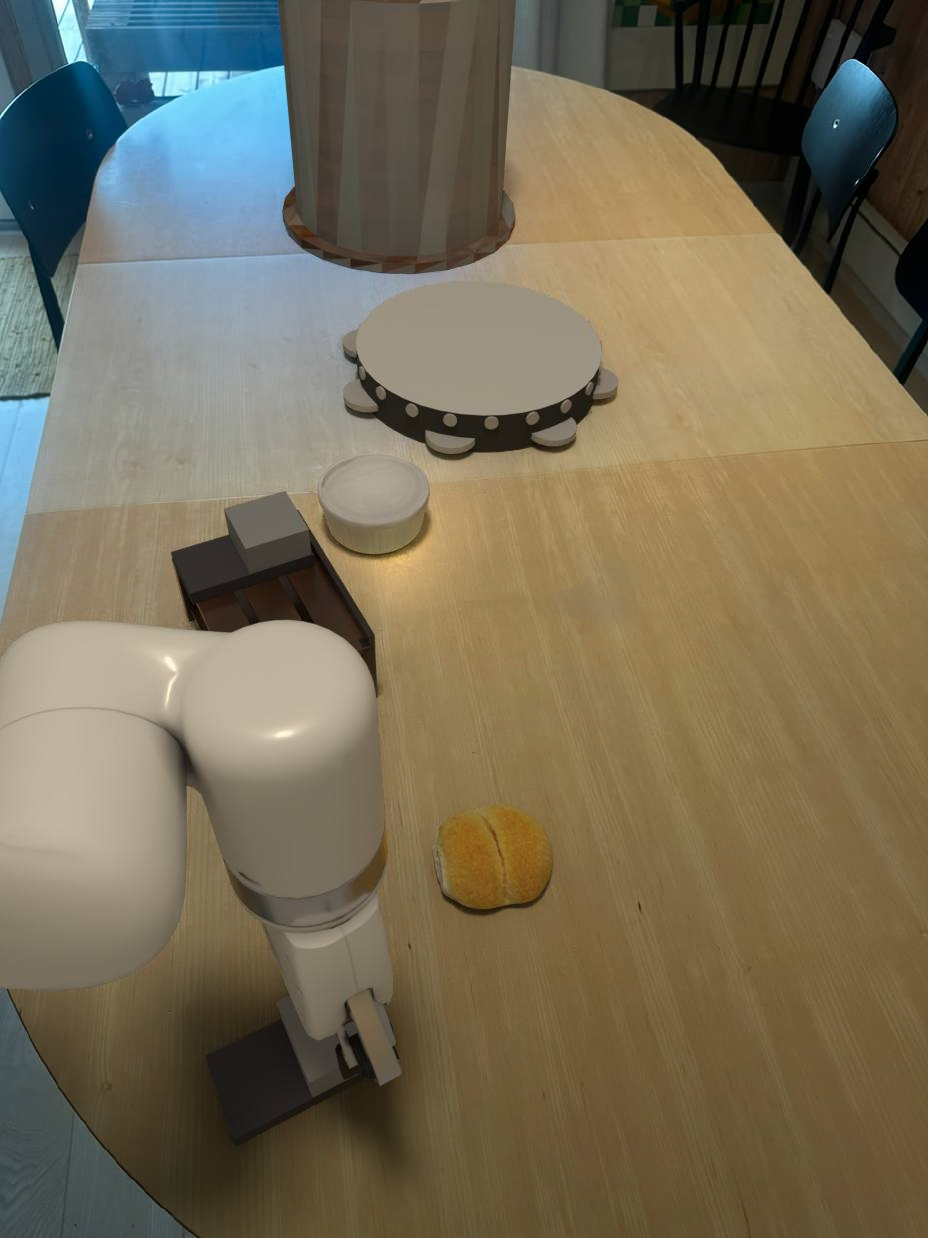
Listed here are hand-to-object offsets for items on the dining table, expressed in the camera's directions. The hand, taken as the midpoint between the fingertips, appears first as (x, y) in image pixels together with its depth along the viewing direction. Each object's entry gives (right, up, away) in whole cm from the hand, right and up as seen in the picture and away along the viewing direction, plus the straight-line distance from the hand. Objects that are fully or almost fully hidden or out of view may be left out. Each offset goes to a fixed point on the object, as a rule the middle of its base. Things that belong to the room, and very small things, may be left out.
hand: (334, 987), depth 58 cm
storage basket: (-2, +83, +89) cm, 122 cm away
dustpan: (-3, -7, +6) cm, 10 cm away
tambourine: (+9, +51, +61) cm, 80 cm away
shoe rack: (-9, +19, +30) cm, 36 cm away
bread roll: (+10, +3, +17) cm, 19 cm away
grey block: (-12, +27, +27) cm, 40 cm away
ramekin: (-1, +31, +42) cm, 53 cm away
